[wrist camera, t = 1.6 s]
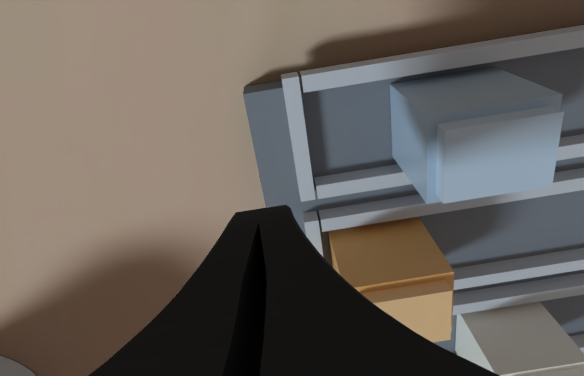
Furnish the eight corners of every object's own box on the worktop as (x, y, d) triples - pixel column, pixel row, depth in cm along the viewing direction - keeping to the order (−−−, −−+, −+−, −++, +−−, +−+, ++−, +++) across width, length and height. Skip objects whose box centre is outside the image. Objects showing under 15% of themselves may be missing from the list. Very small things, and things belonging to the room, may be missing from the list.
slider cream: (528, 338, 23) (587, 418, 19) (455, 350, 23) (497, 432, 19) (535, 296, 21) (600, 372, 17) (457, 308, 21) (503, 388, 17)
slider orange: (417, 268, 20) (458, 344, 16) (334, 281, 20) (353, 360, 16) (417, 214, 19) (461, 282, 15) (327, 229, 19) (346, 301, 15)
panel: (624, 322, 24) (652, 350, 23) (301, 373, 25) (304, 405, 23) (721, -5, 16) (778, -2, 15) (241, 73, 17) (239, 86, 15)
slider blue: (489, 140, 17) (560, 193, 13) (392, 156, 17) (433, 213, 13) (494, 67, 16) (576, 99, 12) (389, 84, 16) (434, 122, 12)
